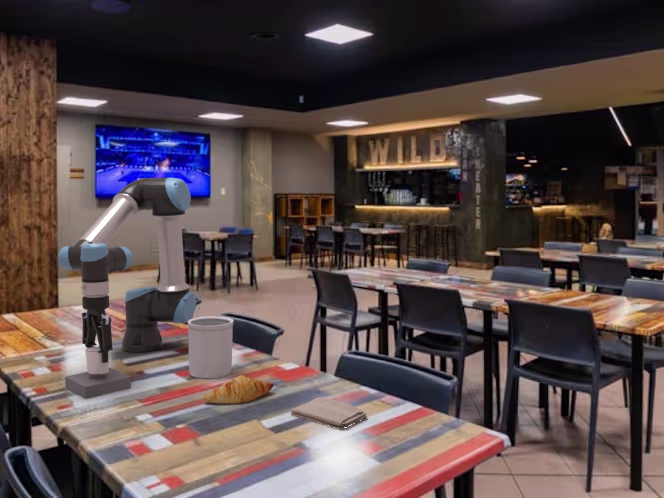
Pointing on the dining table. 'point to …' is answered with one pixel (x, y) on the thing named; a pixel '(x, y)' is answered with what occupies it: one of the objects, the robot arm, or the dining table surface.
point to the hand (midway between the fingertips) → (97, 370)
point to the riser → (97, 383)
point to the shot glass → (93, 359)
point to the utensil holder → (210, 346)
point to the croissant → (238, 391)
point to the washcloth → (329, 412)
